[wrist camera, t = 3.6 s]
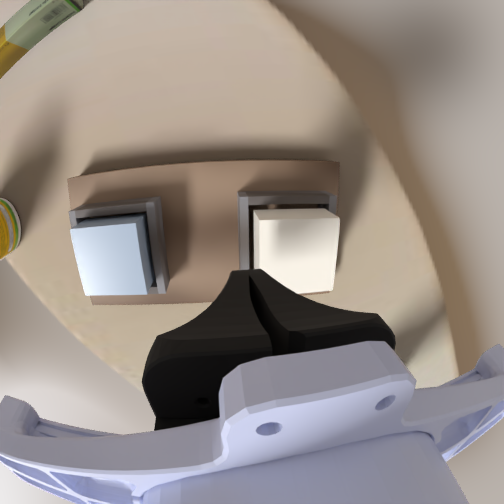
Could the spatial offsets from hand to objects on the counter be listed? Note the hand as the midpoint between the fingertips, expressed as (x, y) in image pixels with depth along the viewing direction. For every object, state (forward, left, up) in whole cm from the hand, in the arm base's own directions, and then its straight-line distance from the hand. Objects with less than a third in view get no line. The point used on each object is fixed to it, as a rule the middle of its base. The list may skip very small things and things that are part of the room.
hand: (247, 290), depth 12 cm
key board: (0, +2, -9) cm, 10 cm away
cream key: (0, -3, -5) cm, 6 cm away
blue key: (0, +8, -6) cm, 10 cm away
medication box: (+19, +18, -10) cm, 28 cm away
